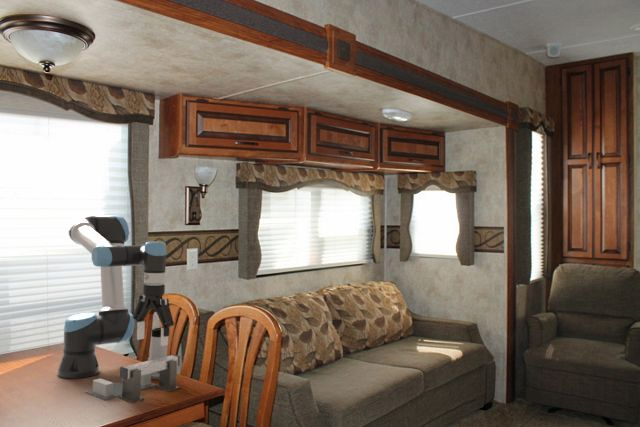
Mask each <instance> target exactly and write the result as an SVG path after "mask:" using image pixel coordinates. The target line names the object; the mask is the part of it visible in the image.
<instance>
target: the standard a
mask: <svg viewBox="0 0 640 427" xmlns="http://www.w3.org/2000/svg"><path fill="white" fill-rule="evenodd" d="M122 382H123V387H122V395H120V396H118V397H117V398H118V399H119V400H120V399H121V400H122V401H125V402H127V403H131V404H134V403H137V402H142V401H144V400H145V397H143V396H141V390H140V386H141V370H136V371H132V378H130V379H126V380H125V379H122Z"/></svg>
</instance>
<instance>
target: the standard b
mask: <svg viewBox="0 0 640 427" xmlns="http://www.w3.org/2000/svg"><path fill="white" fill-rule="evenodd" d="M177 372H178V366H177V361H172V362H169V368H168V369H164V370H161V371H160V375H159V379H158V382H159V383H158V384H157V385H156V386H154V387H155V388H157V389H160V390H161V391H166V392H168V393H169V392H173V391H177V390H179V389H181V387H180V386H178V385H177V374H178V373H177Z"/></svg>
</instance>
